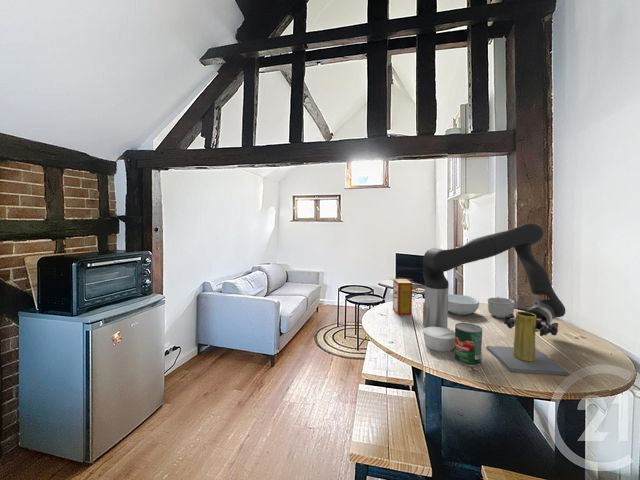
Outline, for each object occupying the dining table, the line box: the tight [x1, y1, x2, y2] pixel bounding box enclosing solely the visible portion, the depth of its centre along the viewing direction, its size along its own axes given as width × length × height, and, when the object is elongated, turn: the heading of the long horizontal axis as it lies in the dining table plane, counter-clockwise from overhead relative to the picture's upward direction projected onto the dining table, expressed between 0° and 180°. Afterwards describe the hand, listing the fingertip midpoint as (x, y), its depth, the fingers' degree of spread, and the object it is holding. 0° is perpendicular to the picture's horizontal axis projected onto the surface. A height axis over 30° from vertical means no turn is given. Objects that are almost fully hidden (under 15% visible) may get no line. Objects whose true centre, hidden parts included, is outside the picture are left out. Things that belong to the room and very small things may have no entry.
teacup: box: [486, 296, 515, 319], centre depth 140 cm, size 14×11×8 cm
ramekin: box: [422, 327, 455, 352], centre depth 105 cm, size 11×11×5 cm
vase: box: [513, 311, 537, 362], centre depth 94 cm, size 6×6×14 cm
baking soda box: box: [392, 278, 413, 316], centre depth 144 cm, size 10×6×16 cm
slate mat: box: [486, 345, 570, 376], centre depth 94 cm, size 16×16×1 cm
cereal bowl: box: [448, 293, 480, 316], centre depth 144 cm, size 17×17×7 cm
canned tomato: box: [453, 322, 484, 367], centre depth 94 cm, size 8×8×11 cm
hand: (524, 329), depth 93 cm, fingers open, 8 cm apart
